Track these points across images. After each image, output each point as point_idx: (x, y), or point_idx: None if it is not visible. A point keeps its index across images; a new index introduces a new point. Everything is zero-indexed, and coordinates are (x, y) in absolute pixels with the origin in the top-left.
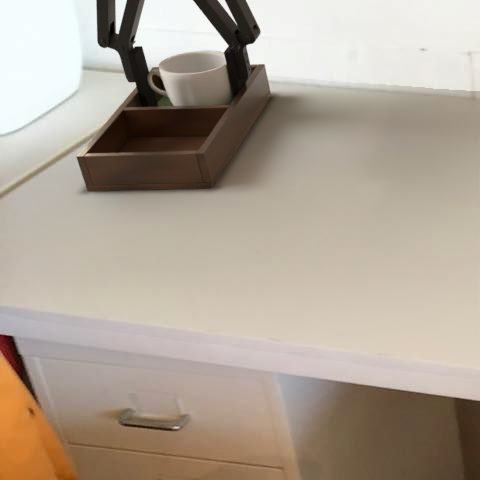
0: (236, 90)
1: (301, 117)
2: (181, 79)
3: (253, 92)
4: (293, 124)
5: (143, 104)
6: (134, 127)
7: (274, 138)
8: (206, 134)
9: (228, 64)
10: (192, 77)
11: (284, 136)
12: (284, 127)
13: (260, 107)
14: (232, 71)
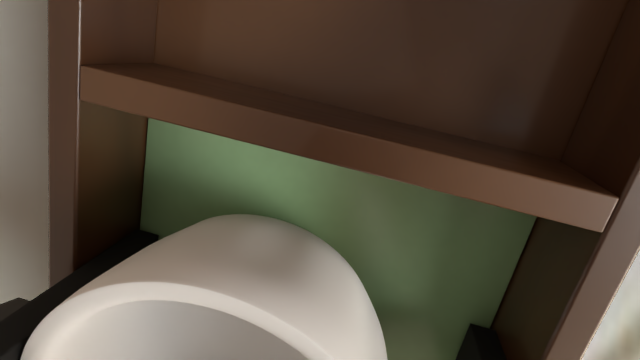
0: (94, 270)
1: (3, 201)
2: (257, 280)
3: None
4: (12, 153)
5: (497, 356)
6: (547, 164)
7: (43, 47)
8: (253, 86)
9: (3, 343)
10: (189, 269)
11: (15, 56)
12: (33, 136)
13: None
14: (25, 316)
